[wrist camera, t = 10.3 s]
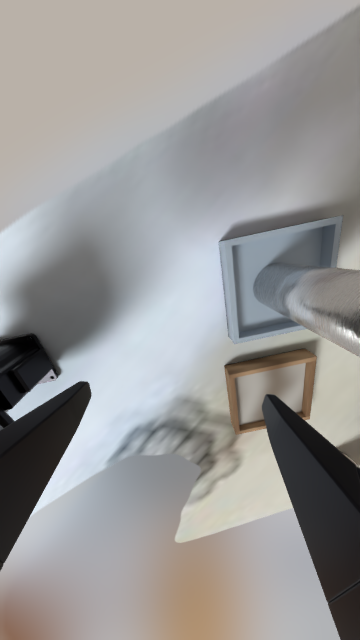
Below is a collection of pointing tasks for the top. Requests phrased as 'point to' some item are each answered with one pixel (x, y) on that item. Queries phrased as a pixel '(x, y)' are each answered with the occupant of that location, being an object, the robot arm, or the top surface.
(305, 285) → the scoop cup
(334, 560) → the robot arm
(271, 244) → the grey tray
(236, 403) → the walnut tray
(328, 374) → the top surface
